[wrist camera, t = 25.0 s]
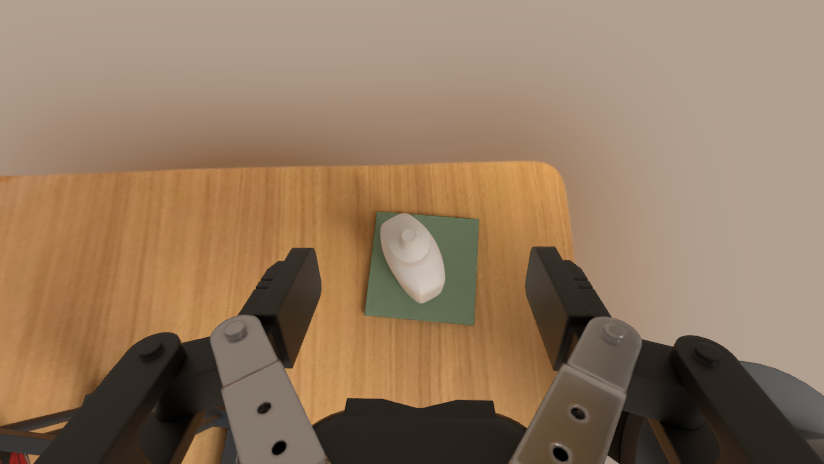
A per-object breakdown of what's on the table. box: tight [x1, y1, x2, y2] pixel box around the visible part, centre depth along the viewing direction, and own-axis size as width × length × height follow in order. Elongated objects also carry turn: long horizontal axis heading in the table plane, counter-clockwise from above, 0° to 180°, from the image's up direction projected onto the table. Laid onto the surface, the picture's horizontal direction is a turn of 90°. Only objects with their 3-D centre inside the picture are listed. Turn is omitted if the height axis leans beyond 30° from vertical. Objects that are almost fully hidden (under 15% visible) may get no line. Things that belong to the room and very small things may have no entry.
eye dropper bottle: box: [380, 213, 445, 303], centre depth 24 cm, size 4×6×12 cm
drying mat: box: [364, 212, 479, 325], centre depth 30 cm, size 9×9×1 cm
